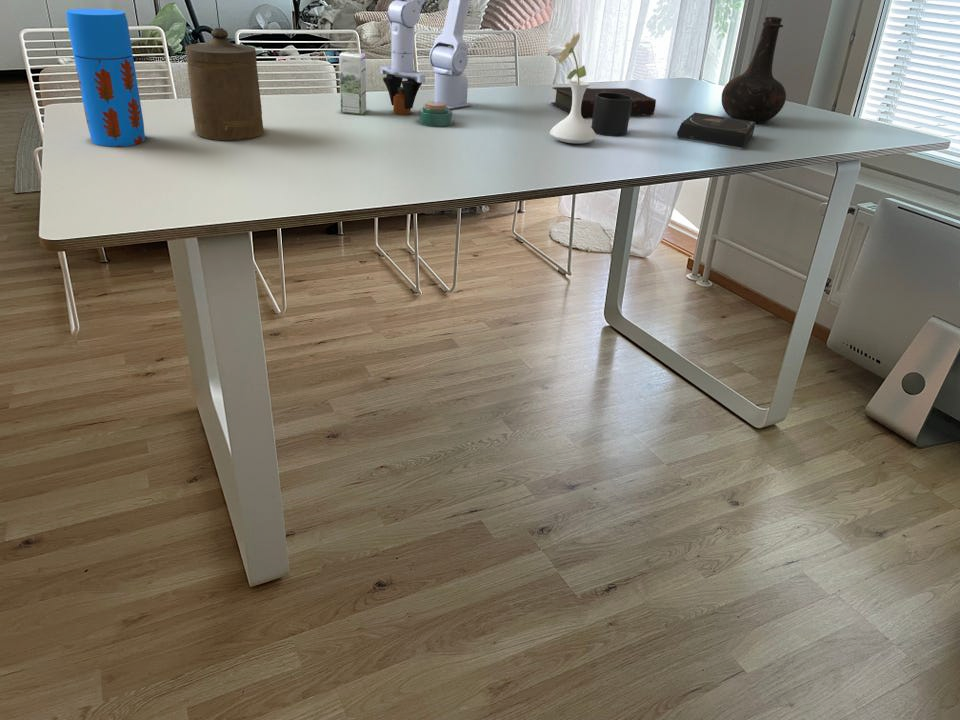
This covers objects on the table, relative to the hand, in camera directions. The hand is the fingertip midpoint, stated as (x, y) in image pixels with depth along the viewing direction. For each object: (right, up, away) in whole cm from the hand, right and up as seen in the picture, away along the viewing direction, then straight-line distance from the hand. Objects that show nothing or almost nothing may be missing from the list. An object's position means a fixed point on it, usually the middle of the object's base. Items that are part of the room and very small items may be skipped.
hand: (401, 106), depth 198 cm
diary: (+57, +6, +21) cm, 61 cm away
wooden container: (-36, -16, -28) cm, 49 cm away
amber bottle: (0, -1, +1) cm, 2 cm away
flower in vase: (+43, -14, -15) cm, 48 cm away
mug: (+56, -7, -2) cm, 56 cm away
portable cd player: (+83, -9, -1) cm, 84 cm away
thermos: (-56, -21, -39) cm, 72 cm away
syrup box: (-13, -2, -2) cm, 13 cm away
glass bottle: (+101, +4, +22) cm, 103 cm away
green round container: (+9, -6, -7) cm, 13 cm away
